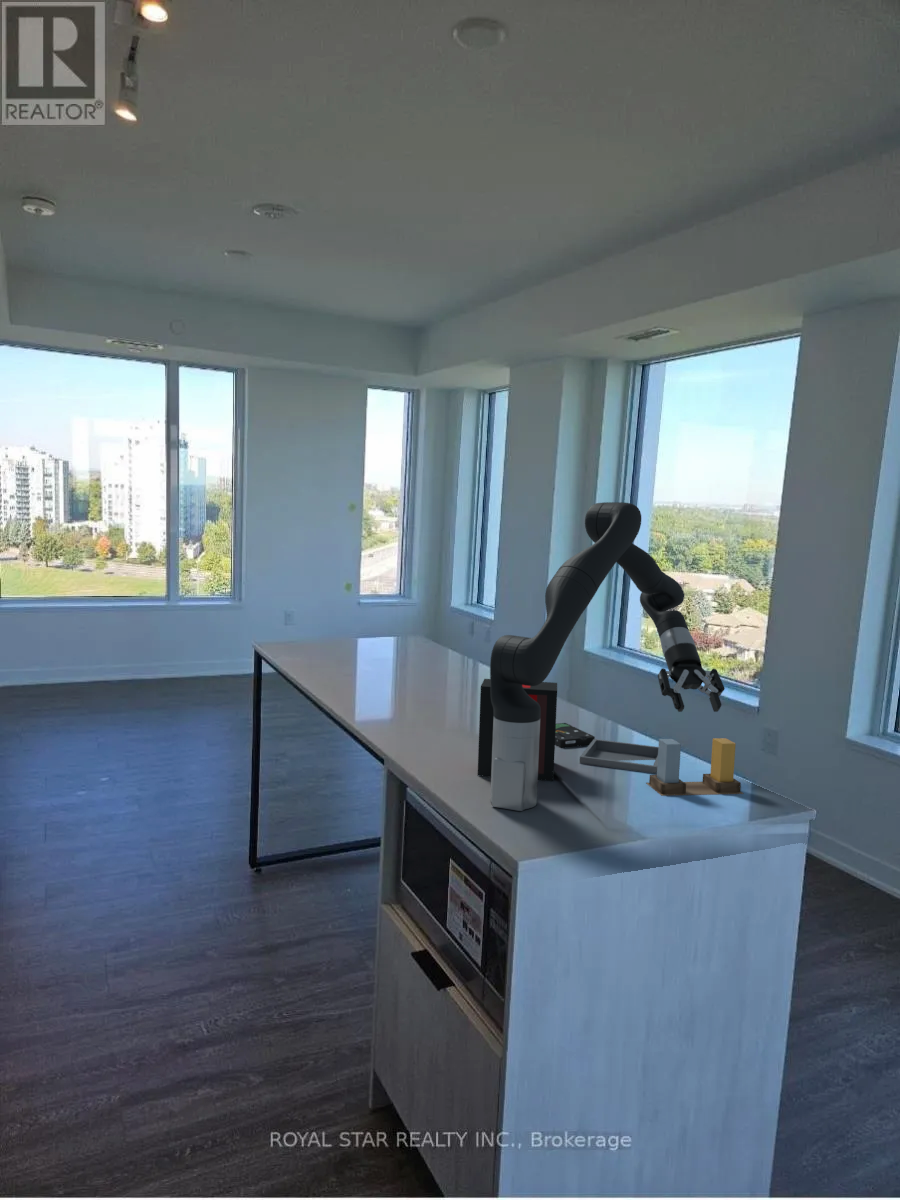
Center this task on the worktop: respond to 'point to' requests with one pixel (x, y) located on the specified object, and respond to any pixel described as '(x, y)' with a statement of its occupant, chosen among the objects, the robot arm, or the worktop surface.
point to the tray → (620, 755)
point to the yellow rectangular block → (722, 760)
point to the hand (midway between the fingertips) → (699, 710)
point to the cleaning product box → (548, 705)
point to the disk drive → (571, 736)
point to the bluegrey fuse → (668, 761)
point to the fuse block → (695, 787)
